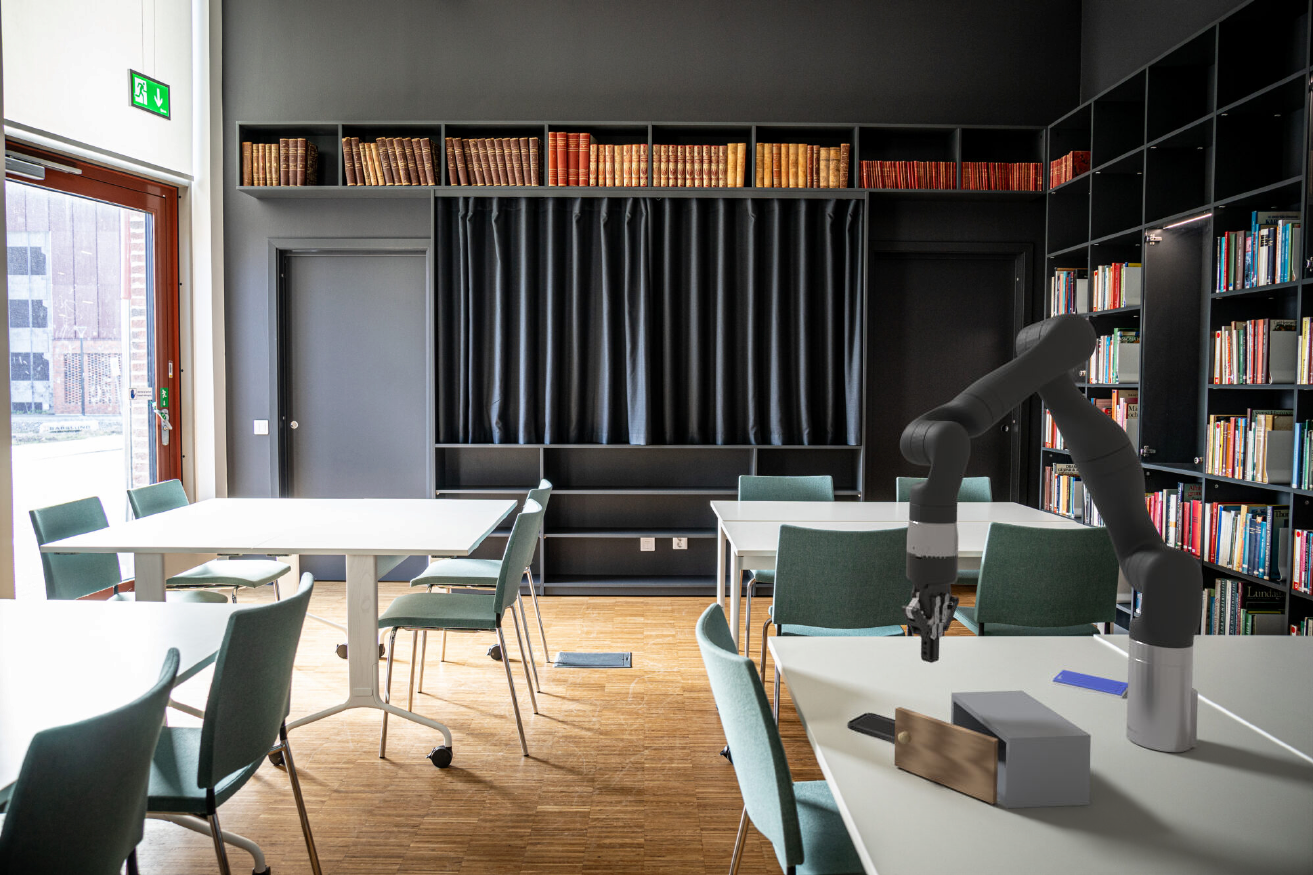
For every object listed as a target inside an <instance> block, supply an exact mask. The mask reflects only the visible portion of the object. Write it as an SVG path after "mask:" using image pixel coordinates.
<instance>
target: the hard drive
mask: <svg viewBox="0 0 1313 875" xmlns="http://www.w3.org/2000/svg"><path fill="white" fill-rule="evenodd" d="M1052 685H1055V686H1056V685H1057V686H1061V687H1064V688H1070V689H1074V690H1080V691H1085V692H1089V693H1094V694H1099V695H1104V696H1108V697H1114V698H1119V699H1123V697H1124V696H1125V695H1126V693H1127V692H1128V682H1123V681H1120V680H1114V679H1110V678H1104V677H1100V676H1096V675H1095V676H1094V675H1091V674H1085V673H1080V672H1076V671H1071V670H1066V669H1062V670H1061V671H1060V672H1059V673H1058V674H1056V675H1055V677H1054V678H1053V679H1052Z"/></svg>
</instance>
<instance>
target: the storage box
mask: <svg viewBox="0 0 1313 875" xmlns="http://www.w3.org/2000/svg"><path fill="white" fill-rule="evenodd" d="M950 697H951V698H950V699H951V700H950V704H951V706H950V724H953V725H957V726H960V727H963V728H966V729H969V730H972V731H975V732H978V733H981V734H984V735H987V736H990V737H993V738H996V739H998V779H997V800H999V801H1000V802H1001V803H1002V804H1003V805H1004V806H1005V807H1006V808H1007V809H1018V808H1021V809H1023V808H1038V807H1039V808H1042V807H1063V806H1086V805H1090V788H1091V787H1090V785H1091V784H1090V781H1091V779H1090V776H1091V742H1092V741H1091V738H1092V734H1090V733H1088V732H1087V731H1085V730H1084V729H1082V728H1080V727H1078V726H1077V725H1076V724H1075V723H1073V722H1071V721H1070V720H1068V719H1067V718H1065V717H1063V716H1062V715H1061V714H1059V713H1058V712H1056V711H1054V710H1053V709H1052V708H1050V707H1048V706H1047V705H1046V704H1044V703H1042V702H1041V701H1040V700H1037V699H1035V698H1034V697H1033V696H1031V695H1030V694H1028V693H1027V692H1025V691H1023V690H997V691H970V692H969V691H967V692H965V691H963V692H960V691H959V692H958V691H957V692H951V696H950Z"/></svg>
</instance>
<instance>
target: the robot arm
mask: <svg viewBox="0 0 1313 875" xmlns="http://www.w3.org/2000/svg"><path fill="white" fill-rule="evenodd" d="M1097 342H1098V341H1097V334H1096V331H1095V329H1094V326H1093V325H1092V323H1091V322H1090V321H1089V320H1088V319H1087V318H1086V317H1085V316H1083V315H1081V314H1079V313H1074V312H1073V313H1072V312H1068V313H1067V312H1066V313H1060V314H1058V315H1057V314H1056V315H1054V316H1051V317H1049V318H1046V319H1044V320H1041V321H1038V322H1034V323H1032V324H1030V325H1028V326H1025V327H1024V328H1022V329H1021V330H1020V331H1019V333H1018V334H1017V336H1016V339H1015V350H1016V354H1017V355H1016V356H1017V357H1016V358H1014V359H1012V360H1011V361H1009V362H1007V363H1006V364H1004V365H1001V366H1000V367H998V368H996V369H995V370H993V371H991V372H989V373H988V374H986V375H984V376H982V377H980V378H979V379H978V380H976V381H975V382H973V383H972V384H970V385H969V386H968V387H967V388H966V389H964V390H962V392H960V393H959V394H958V395H956V397H954V399H952V400H950V401H949V402H947V403H945V404H941V405H940V406H937V407H936V408H934V409H932V410H930V411H927V412H925V413H924V414H922V415H920V416H918V417H917V418H916V419H914V420H913V421H911V422H910V423H909V424H908V425H907V426H906V427H905V429H904V430H903V432H902V434H901V437H900V441H899V448H900V452H901V454H902V456H903V457H904V458H905V460H907V462H909V463H911V464H914V465H918V466H925V467H926V466H927V467H930V471H929V473H928V476H927V479H926V480H924V481H923V480H922V481H919V482H916V483H914V484H913V485H912V486H911V487H910V490H909V508H908V511H909V513H908V515H909V516H908V519H909V520H908V525H907V532H906V565H905V566H906V569H905V570H906V571H905V573H906V575H905V576H906V578H907V579H908V580H910V581H911V582H912V584H913V585H912V590H911V593H910V598H911V601H910V602H909V604H908V605H906V604H903V605H902V606H901V612H902V615H903V617H904V619H905V621H906V623H907V625H908V627H909V629H910V631H911V633H912V634H913V635H916V636H917V635H918V636H919V637H920V640H921V641H920V657H921V658H920V659H921V660H922V661H923V662H927V663H930V664H933V663H936V662H938V661H939V660H940V638H942V636H943V632H948V631H949V628H950V626H951V624H952V621H953V619H954V616H955V613H956V610H957V609H958V606H959V602H960V597H959V596H954V595H952V592H951V591H952V589H951V588H952V587H951V585H952V584H955V583H956V582H957V581H958V576H959V574H958V571H959V529H958V498H959V497H958V496H959V492H960V489H961V486H962V483H963V480H964V476H965V473H966V469H967V466H968V463H969V460H970V456H971V439H974V438H977V437H980V436H981V435H983V434H984V433H986V432H987V431H988V430H989V429H991V428H992V427H993V426H994V425H996V424H997V423H998V422H1000V421H1001V420H1002V419H1003V418H1004V417H1005V416H1006V415H1007V414H1008V413H1010V412H1011V411H1013V410H1014V409H1015V408H1016V407H1017V406H1018V405H1020V404H1021V403H1023V402H1024V401H1025V400H1026V399H1028V398H1029V397H1030V396H1031V395H1033V394H1034V393H1036V392H1037V394H1038V395H1039V397H1040V399H1041V400H1042V402H1043V403H1044V406H1045V407H1046V409H1047V410H1048V413H1049V415H1050V417H1051V418H1052V420H1053V422H1054V424H1055V425H1056V426H1055V427H1057V429H1058V432H1059V434H1060V436H1061V438H1062V440H1063V442H1064V444H1065V446H1066V448H1067V451H1068V453H1069V455H1070V458H1071V460H1072V462H1073V464H1074V466H1075V469H1076V470H1077V473H1078V476H1079V477H1080V479H1081V481H1082V482H1083V485H1084V487H1085V488H1086V490H1087V492H1088V494H1089V496H1090V498H1091V500H1092V502H1093V504H1094V507H1095V509H1096V510H1097V512H1098V514H1099V517H1100V518H1101V519H1102V522H1103V524H1104V525H1105V528H1106V531H1107V533H1108V536H1109V538H1110V541H1111V543H1112V546H1113V549H1114V552H1115V556H1116V558H1117V561H1118V564H1119V567H1120V570H1121V572H1122V575H1123V577H1124V580H1125V581H1126V582H1127V583H1128V585H1129V586H1130V587H1131V588H1132V589H1134V591H1136V592H1137V593H1139V594H1141V606H1140V607H1141V608H1140V614H1139V616H1137V617H1133V618H1132V619H1131V620H1130V621H1129V625H1128V657H1127V658H1128V660H1127V662H1128V664H1127V683H1128V690H1127V692H1126V693H1127V695H1126V696H1127V699H1126V700H1127V701H1126V730H1125V731H1126V737H1127V738H1128V740H1130V741H1131V742H1133V743H1134V744H1136V745H1138V746H1142V747H1143V748H1147V749H1151V750H1155V751H1161V752H1169V753H1182V752H1186V751H1189V750H1190V749H1191V748H1197V741H1198V740H1197V739H1198V736H1197V735H1198V733H1197V732H1198V705H1199V704H1198V702H1199V700H1198V699H1199V698H1198V697H1199V693H1198V692H1199V691H1198V690H1197V689H1195V688H1194V687H1193V679H1194V678H1193V674H1194V673H1193V672H1194V671H1193V670H1194V642H1195V641H1194V640H1195V635H1196V634H1197V631H1198V629H1199V627H1200V624H1201V623H1200V622H1201V614H1202V604H1203V603H1202V602H1203V588H1204V586H1203V585H1204V583H1203V582H1204V579H1203V573H1202V572H1203V571H1202V569H1201V568H1202V567H1201V566H1200V563H1199V562H1198V560H1197V559H1196V558H1195V557H1194V556H1193V555H1192V554H1191V553H1189V552H1187V551H1185V550H1182V549H1179V548H1177V547H1174V546H1170V545H1168V544H1167V543H1166V542H1165V540H1164V539H1163V538H1162V535H1161V534H1160V532H1159V531H1158V528H1157V527H1156V525H1155V523H1154V521H1153V519H1152V517H1151V515H1150V513H1149V512H1150V511H1149V509H1148V507H1147V499H1146V498H1147V497H1146V481H1145V480H1146V479H1145V474H1144V473H1145V472H1144V469H1143V465H1142V462H1141V460H1140V458H1139V456H1138V454H1137V452H1136V450H1135V448H1134V445H1133V443H1132V441H1131V439H1130V436H1129V434H1128V433H1127V432H1126V430H1125V429H1124V428H1123V427H1122V426H1121V425H1120V424H1119V423H1118V422H1117V421H1116V420H1114V418H1112V417H1111V416H1110V415H1108V414H1107V413H1106V412H1105V411H1103V410H1102V409H1101V408H1100V407H1098V406H1097V405H1095V404H1094V403H1093V402H1092V401H1090V400H1089V399H1088V398H1087V397H1086V396H1085V395H1084V394H1083V393H1082V391H1081V390H1080V389H1079V387H1078V386H1077V384H1076V383H1075V380H1074V379H1073V377H1072V375H1071V373H1070V371H1071V370H1073V369H1075V368H1078V367H1080V366H1082V365H1083V364H1085V363H1087V361H1089V360H1090V359H1091V358H1092V356H1093V355H1094V353H1095V350H1096V347H1097Z"/></svg>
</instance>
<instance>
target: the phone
mask: <svg viewBox="0 0 1313 875" xmlns="http://www.w3.org/2000/svg"><path fill="white" fill-rule="evenodd" d="M847 728H848V730H851V731H854V732H857V733H860V734H863V735H866V736H870V737H872V738H875V739H877V740H878V739H879V740H882V741H884V742H888V743H890V744H894V745H895V718H890V717H887V716H884V715H880V714H877V713H874V712H864V713H863V714H861V715H859V716H857V717H855V718H853V719H851V720H849V721H848V722H847Z"/></svg>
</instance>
